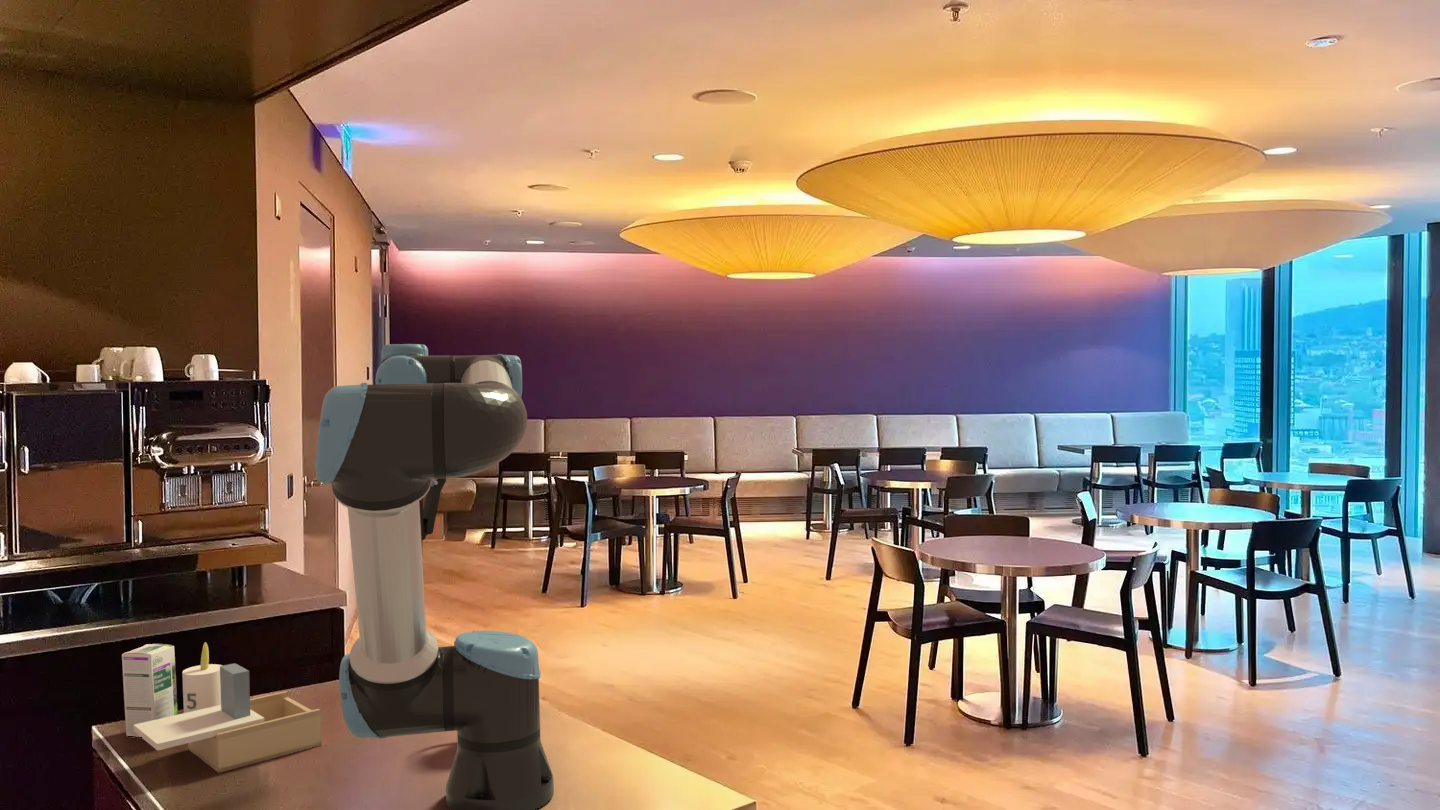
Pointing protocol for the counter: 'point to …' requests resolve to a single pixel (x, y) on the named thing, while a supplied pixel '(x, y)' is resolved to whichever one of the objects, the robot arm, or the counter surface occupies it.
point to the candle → (201, 684)
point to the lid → (206, 715)
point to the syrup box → (149, 684)
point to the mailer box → (263, 735)
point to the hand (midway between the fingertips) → (410, 578)
